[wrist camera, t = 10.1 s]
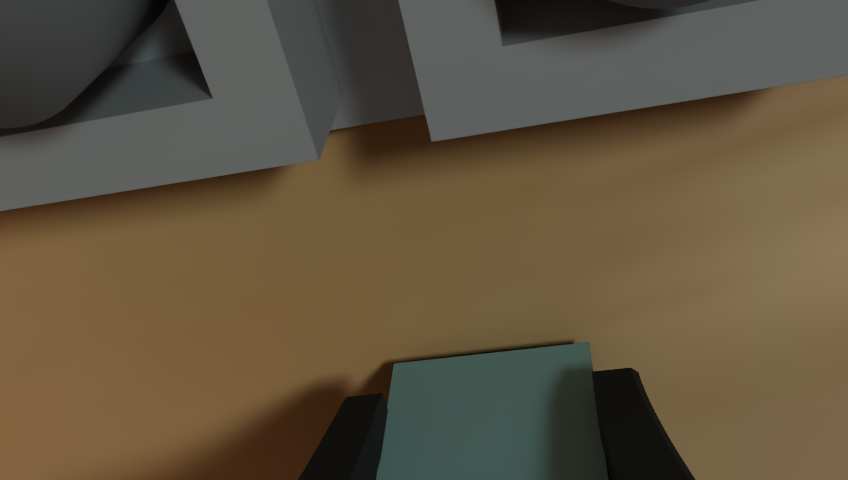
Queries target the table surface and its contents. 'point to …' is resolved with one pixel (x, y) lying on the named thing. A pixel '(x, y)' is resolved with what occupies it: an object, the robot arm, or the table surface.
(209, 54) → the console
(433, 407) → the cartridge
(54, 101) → the plunger
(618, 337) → the table surface
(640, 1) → the plunger
